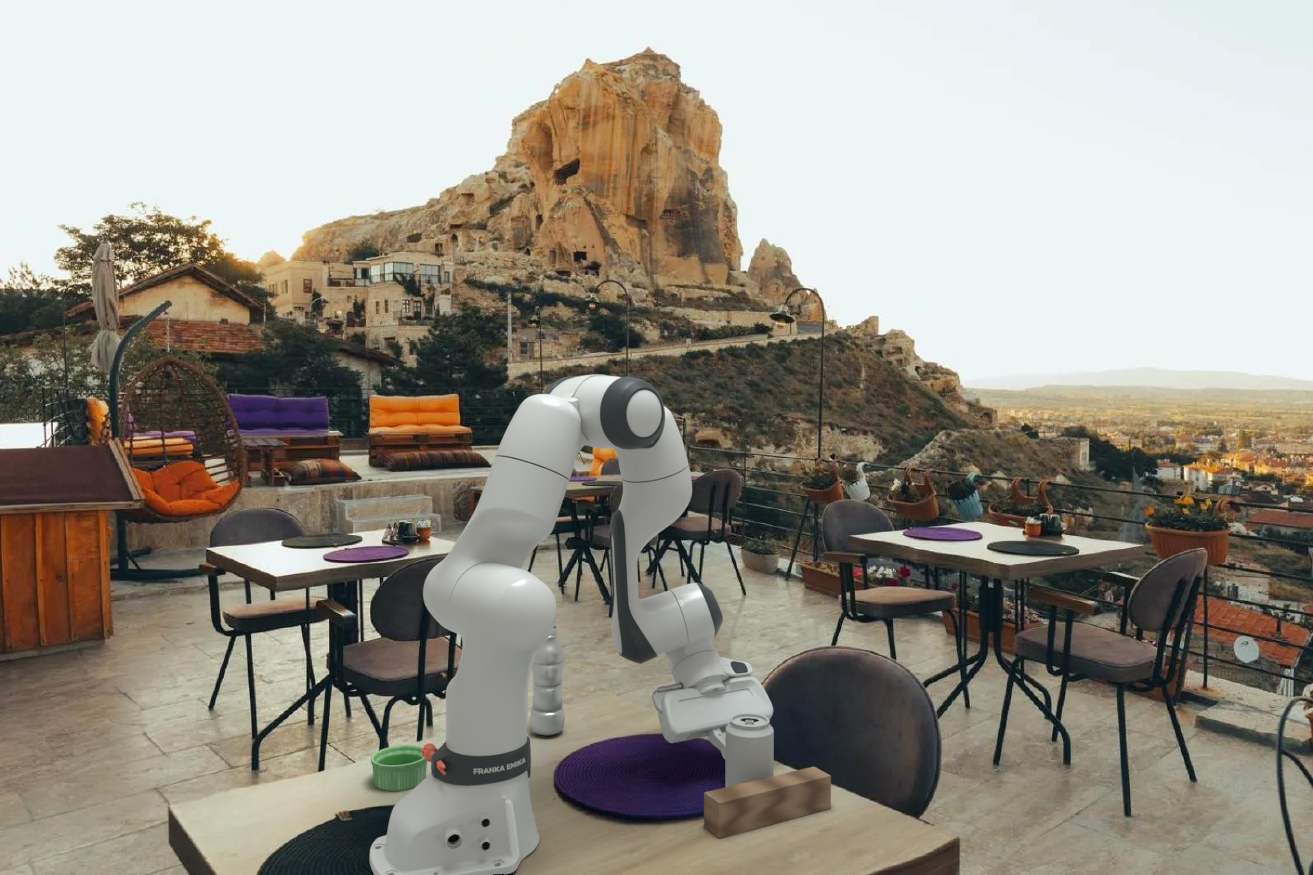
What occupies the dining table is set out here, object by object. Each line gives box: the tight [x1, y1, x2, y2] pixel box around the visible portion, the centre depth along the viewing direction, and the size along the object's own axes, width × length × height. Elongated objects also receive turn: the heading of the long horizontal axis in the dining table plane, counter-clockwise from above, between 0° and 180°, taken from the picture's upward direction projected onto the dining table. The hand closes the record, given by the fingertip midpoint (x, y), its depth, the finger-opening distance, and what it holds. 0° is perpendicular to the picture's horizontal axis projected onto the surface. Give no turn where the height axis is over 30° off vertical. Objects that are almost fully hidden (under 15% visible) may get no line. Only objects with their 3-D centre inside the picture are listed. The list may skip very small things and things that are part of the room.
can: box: [724, 713, 775, 788], centre depth 136 cm, size 8×8×12 cm
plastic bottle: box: [529, 625, 566, 736], centre depth 162 cm, size 6×7×20 cm
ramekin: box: [370, 744, 428, 792], centre depth 141 cm, size 9×9×4 cm
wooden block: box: [703, 766, 832, 840], centre depth 128 cm, size 20×4×5 cm, turn 119°
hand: (734, 756), depth 140 cm, fingers closed, pressing on can
